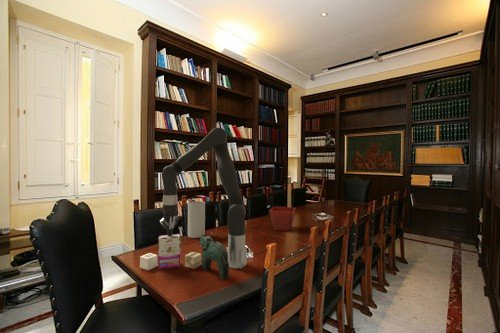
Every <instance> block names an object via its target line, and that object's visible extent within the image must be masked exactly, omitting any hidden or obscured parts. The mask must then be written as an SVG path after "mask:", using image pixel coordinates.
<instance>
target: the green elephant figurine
mask: <svg viewBox="0 0 500 333" xmlns="http://www.w3.org/2000/svg"><path fill="white" fill-rule="evenodd" d="M211 234H212V236H213V237H214V236H215V235H214V233H213V232H210V234H209V235H203V234H202V237H200V238H199V247H200V248H201V250H202V253H201V269H202V270H204V271H207V270H210V269H211V268H212V261H214V262H216V265H217V266H218V271H219V279H221V280H226V279H228V278H229V273H230V272H229V269H230V267H229V263H228V251H227V250H226V248H225V246H224V245H223V243H221V242H220V241H214V239H213V238H212V236H211Z"/></svg>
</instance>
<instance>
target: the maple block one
mask: <svg viewBox="0 0 500 333" xmlns="http://www.w3.org/2000/svg"><path fill="white" fill-rule="evenodd" d="M200 266H202V253H199V252H195V251H191V252H189V253H187V254H184V268H185V267H186V268H190V269H196V268H198V267H200Z"/></svg>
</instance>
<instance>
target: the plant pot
mask: <svg viewBox="0 0 500 333" xmlns="http://www.w3.org/2000/svg"><path fill="white" fill-rule="evenodd" d="M295 214H296V207H290V206H273V207H272V208H270V209H269V216H270V220H271V224H272V227H273V230H274V231H283V232H284V231H286V232H289V231H290V230H291V229H292V226H293V223H294V219H295Z"/></svg>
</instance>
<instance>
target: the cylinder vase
mask: <svg viewBox="0 0 500 333" xmlns="http://www.w3.org/2000/svg"><path fill="white" fill-rule="evenodd" d="M205 225H206V202H205V201H201V200H200V201H199V200H197V201H196V200H195V201H188V202H187V236H188V237H189V238H190V239H191V238H192V239H200V238H201V237H202V234H203V235H204V236H206V234H205V233H206V231H205V228H206V226H205Z"/></svg>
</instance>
